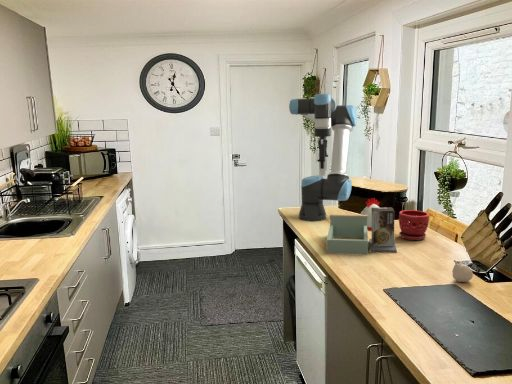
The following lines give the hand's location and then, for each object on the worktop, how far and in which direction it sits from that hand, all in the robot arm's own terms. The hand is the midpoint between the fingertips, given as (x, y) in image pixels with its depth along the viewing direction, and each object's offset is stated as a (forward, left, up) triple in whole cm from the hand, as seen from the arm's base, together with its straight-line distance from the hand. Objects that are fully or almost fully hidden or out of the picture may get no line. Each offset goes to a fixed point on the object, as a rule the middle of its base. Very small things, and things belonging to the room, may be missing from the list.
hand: (323, 173), depth 214 cm
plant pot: (0, +41, -31) cm, 51 cm away
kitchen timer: (-17, +23, -31) cm, 42 cm away
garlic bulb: (+51, +52, -31) cm, 79 cm away
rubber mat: (+15, +27, -30) cm, 43 cm away
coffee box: (+15, +27, -30) cm, 43 cm away
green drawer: (+14, +12, -30) cm, 35 cm away
